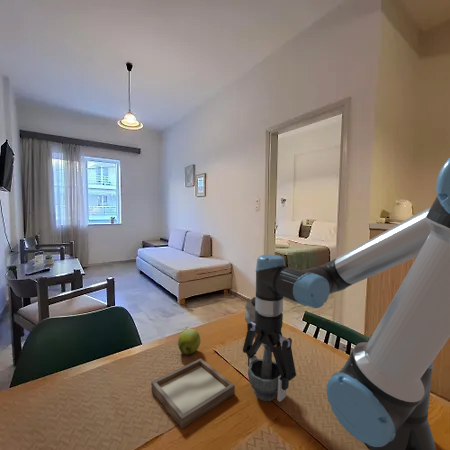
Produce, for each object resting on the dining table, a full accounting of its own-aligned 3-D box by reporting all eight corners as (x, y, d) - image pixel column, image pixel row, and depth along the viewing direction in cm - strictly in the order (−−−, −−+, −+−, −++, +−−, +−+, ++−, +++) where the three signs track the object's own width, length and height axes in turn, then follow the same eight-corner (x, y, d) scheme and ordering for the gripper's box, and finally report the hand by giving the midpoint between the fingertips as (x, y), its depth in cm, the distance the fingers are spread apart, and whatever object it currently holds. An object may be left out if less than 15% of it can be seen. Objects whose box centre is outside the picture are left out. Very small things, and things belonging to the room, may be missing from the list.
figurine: (240, 333, 104) (241, 297, 103) (248, 322, 113) (248, 290, 112) (261, 337, 101) (262, 301, 99) (267, 326, 110) (268, 293, 109)
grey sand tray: (234, 394, 70) (234, 385, 70) (181, 429, 59) (182, 418, 59) (200, 365, 82) (200, 358, 82) (151, 390, 71) (151, 381, 71)
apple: (201, 345, 94) (201, 324, 94) (198, 360, 85) (198, 337, 85) (180, 344, 95) (181, 323, 94) (175, 359, 86) (175, 336, 85)
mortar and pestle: (280, 410, 65) (282, 366, 64) (244, 401, 68) (246, 358, 67) (283, 381, 76) (285, 343, 75) (252, 374, 78) (253, 337, 78)
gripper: (313, 321, 64) (309, 404, 66) (248, 296, 80) (247, 363, 82) (296, 331, 59) (292, 420, 61) (231, 302, 75) (230, 373, 77)
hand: (266, 388), depth 71 cm, fingers closed on mortar and pestle, 10 cm apart
